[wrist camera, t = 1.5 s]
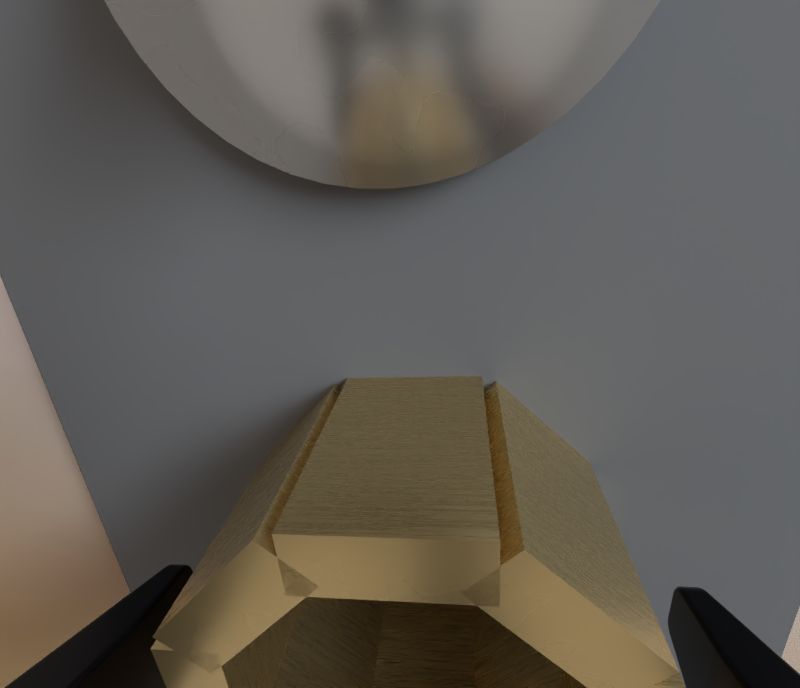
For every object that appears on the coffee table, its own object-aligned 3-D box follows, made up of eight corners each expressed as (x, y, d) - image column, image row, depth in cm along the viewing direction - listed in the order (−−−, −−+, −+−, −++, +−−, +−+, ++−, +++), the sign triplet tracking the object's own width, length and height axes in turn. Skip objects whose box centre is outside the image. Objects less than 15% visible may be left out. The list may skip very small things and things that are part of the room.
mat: (749, 698, 12) (759, 716, 11) (170, 656, 14) (163, 670, 13) (1391, -1185, 3) (1506, -1349, 3) (-309, -558, 6) (-362, -608, 5)
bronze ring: (576, 636, 11) (636, 879, 7) (296, 619, 12) (225, 827, 8) (604, 374, 8) (719, 549, 5) (241, 379, 9) (99, 528, 6)
